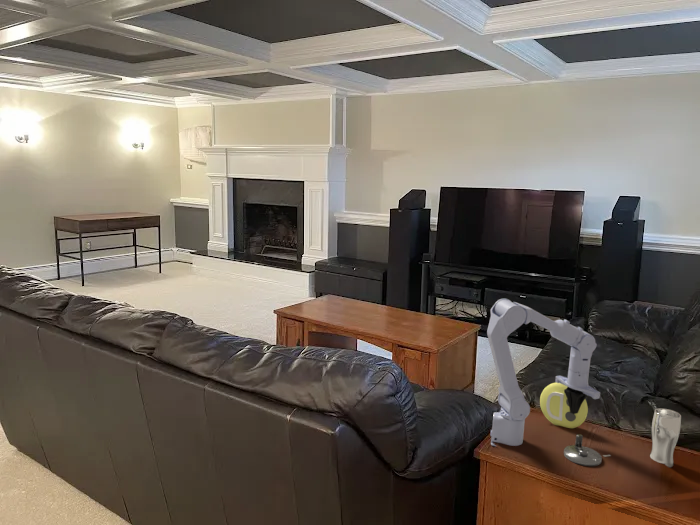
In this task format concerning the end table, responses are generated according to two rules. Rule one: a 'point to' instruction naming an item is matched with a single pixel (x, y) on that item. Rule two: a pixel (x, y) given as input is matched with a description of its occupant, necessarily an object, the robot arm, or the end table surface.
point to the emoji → (561, 407)
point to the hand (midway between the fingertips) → (573, 412)
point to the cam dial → (582, 453)
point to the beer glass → (665, 435)
